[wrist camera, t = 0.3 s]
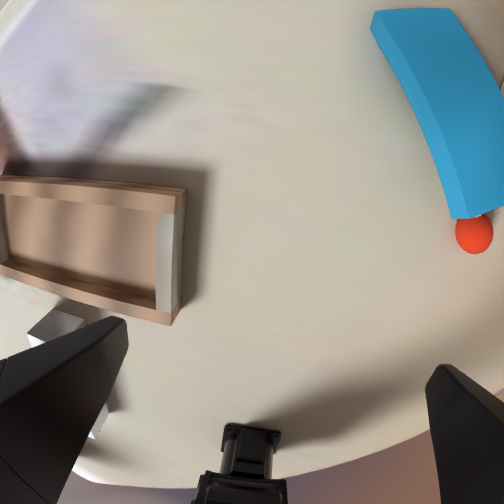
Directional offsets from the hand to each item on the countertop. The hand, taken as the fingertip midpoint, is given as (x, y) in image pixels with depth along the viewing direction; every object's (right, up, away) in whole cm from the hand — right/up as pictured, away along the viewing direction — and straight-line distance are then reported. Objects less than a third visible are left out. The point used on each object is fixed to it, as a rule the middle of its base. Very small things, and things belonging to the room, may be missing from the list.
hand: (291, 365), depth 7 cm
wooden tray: (-17, +4, +15) cm, 23 cm away
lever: (+14, +12, +10) cm, 21 cm away
